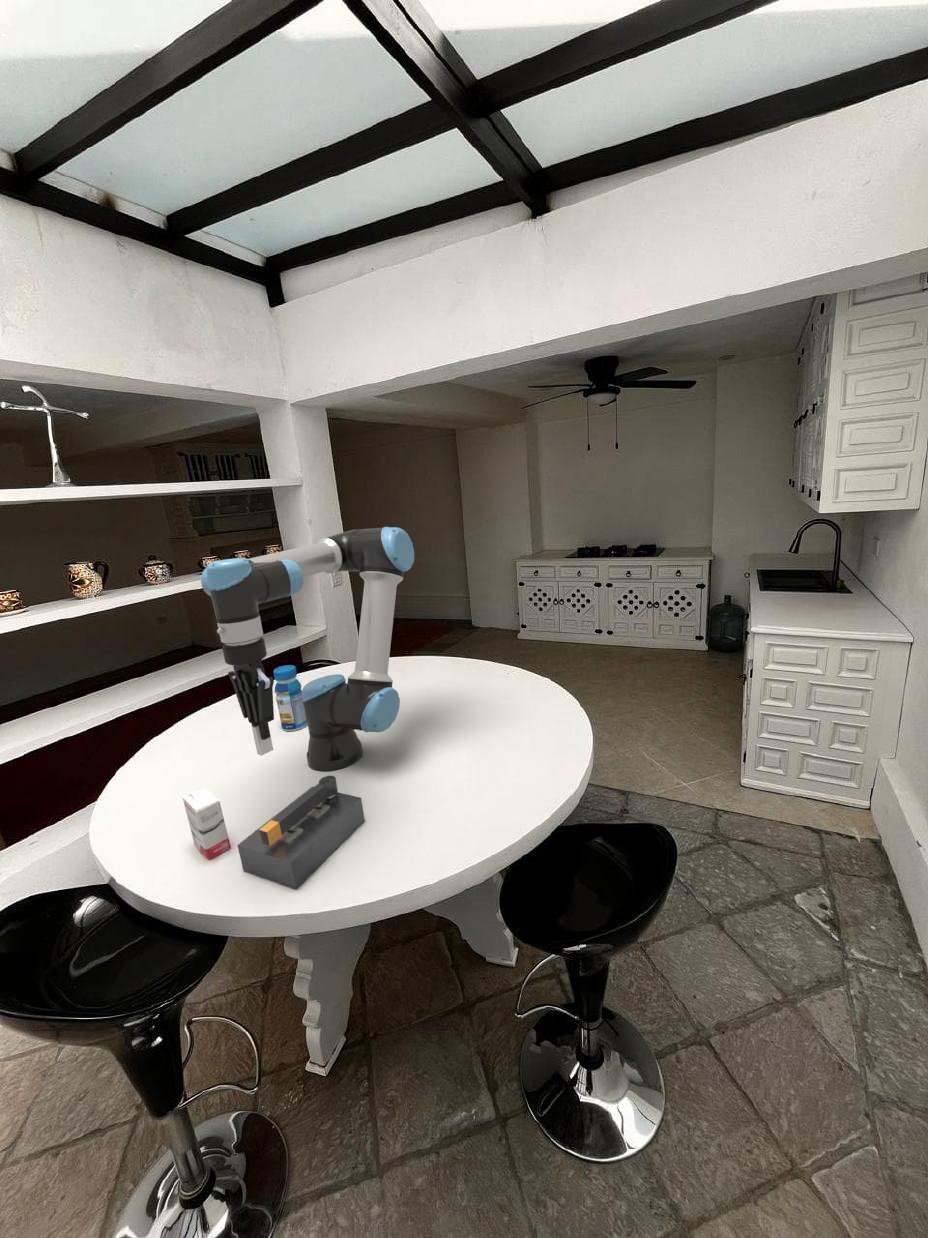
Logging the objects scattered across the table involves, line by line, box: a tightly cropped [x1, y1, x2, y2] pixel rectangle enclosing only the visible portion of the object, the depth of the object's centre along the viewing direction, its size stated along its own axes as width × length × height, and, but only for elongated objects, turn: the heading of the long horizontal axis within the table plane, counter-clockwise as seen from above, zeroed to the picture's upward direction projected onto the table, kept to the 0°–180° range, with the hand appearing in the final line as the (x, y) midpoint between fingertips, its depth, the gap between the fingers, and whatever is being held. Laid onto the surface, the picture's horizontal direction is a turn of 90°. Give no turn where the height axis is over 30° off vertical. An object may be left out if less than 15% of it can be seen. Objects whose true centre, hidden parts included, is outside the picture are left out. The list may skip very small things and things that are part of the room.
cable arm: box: [258, 775, 338, 846], centre depth 103 cm, size 4×20×3 cm, turn 154°
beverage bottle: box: [273, 664, 308, 732], centre depth 161 cm, size 8×8×20 cm
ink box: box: [182, 787, 232, 861], centre depth 106 cm, size 8×5×12 cm, turn 47°
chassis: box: [237, 786, 366, 891], centre depth 104 cm, size 14×21×7 cm, turn 154°
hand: (265, 751), depth 101 cm, fingers closed
